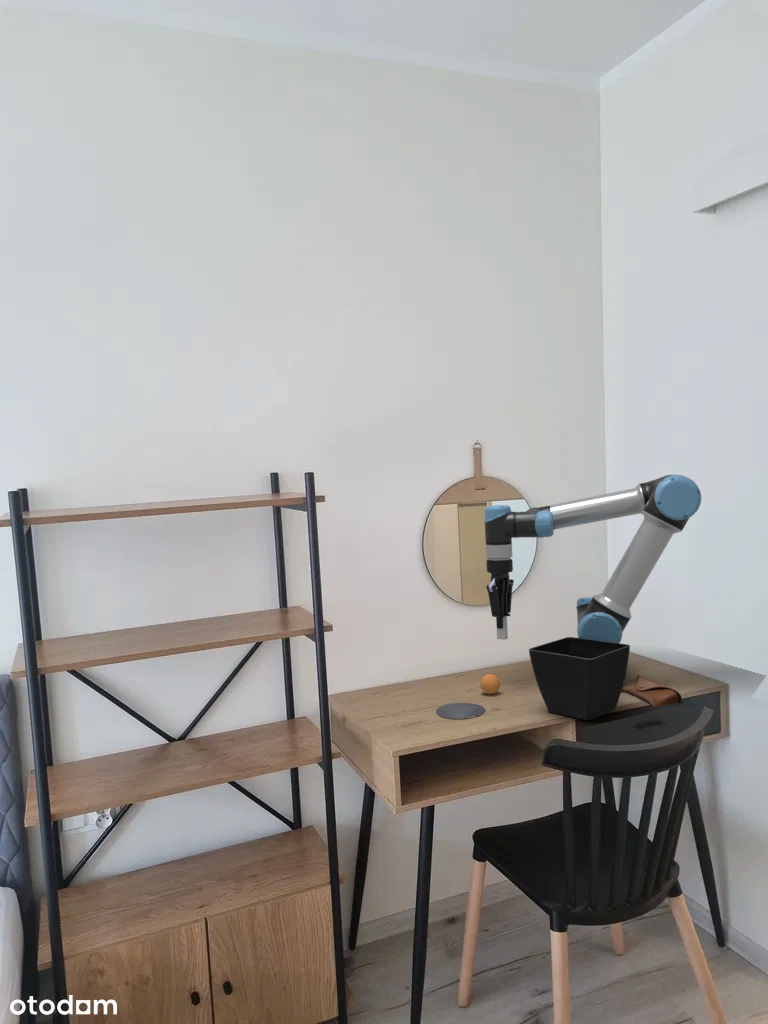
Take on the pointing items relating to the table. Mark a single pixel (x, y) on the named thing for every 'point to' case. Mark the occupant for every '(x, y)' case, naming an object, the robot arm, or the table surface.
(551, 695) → the flower pot
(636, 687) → the sunglasses case
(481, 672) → the table surface
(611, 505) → the robot arm
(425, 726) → the table surface
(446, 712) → the disc
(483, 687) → the ball
